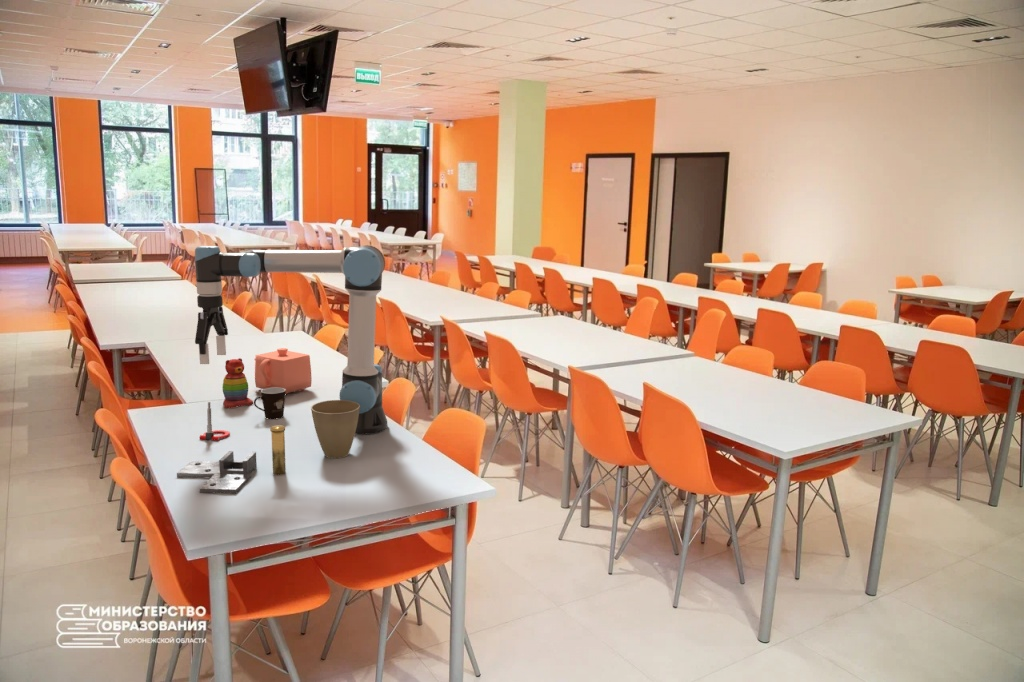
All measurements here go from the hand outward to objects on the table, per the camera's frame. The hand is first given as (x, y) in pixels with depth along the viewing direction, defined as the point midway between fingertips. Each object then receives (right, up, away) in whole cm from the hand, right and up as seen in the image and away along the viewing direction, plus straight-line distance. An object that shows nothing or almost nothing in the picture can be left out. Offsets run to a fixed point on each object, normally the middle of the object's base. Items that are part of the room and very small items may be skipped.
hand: (213, 359), depth 246 cm
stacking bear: (-9, -19, +46) cm, 51 cm away
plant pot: (+42, -30, -6) cm, 52 cm away
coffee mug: (+9, -22, +31) cm, 39 cm away
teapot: (0, -14, +69) cm, 71 cm away
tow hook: (-2, -26, +8) cm, 28 cm away
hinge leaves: (+11, -34, -29) cm, 45 cm away
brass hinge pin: (+29, -33, -23) cm, 49 cm away
